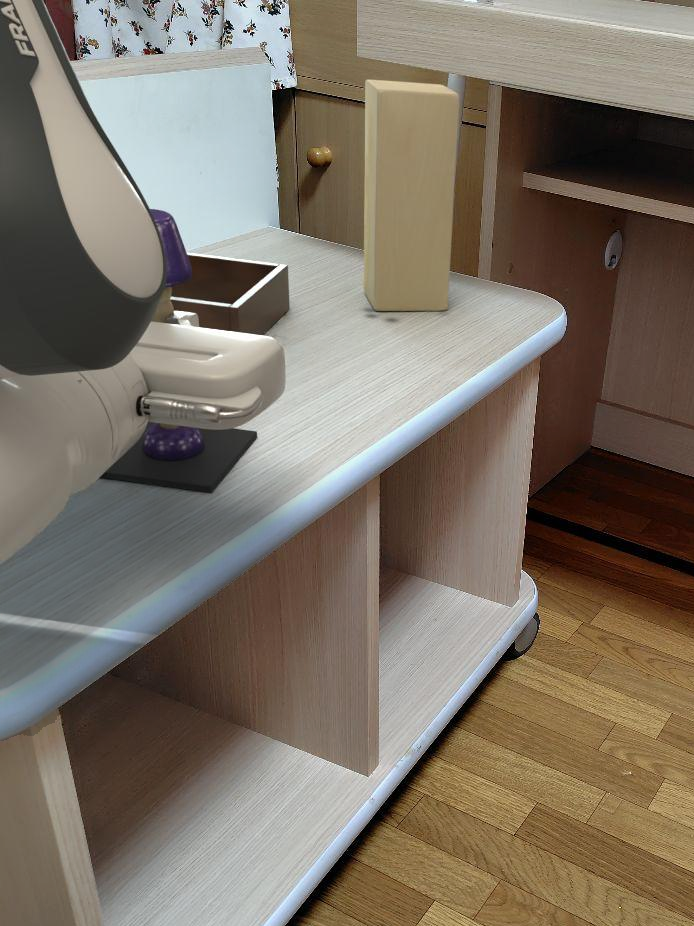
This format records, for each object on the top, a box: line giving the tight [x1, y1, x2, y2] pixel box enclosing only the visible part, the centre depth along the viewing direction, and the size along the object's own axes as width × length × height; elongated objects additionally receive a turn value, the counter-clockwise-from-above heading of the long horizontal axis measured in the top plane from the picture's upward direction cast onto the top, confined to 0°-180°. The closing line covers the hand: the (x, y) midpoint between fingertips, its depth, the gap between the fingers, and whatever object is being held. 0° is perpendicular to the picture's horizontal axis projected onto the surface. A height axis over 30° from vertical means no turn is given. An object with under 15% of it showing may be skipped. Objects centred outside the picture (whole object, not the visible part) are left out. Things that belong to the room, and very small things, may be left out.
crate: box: [170, 251, 291, 336], centre depth 93 cm, size 14×14×4 cm
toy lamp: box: [142, 208, 205, 460], centre depth 67 cm, size 5×5×17 cm
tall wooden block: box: [363, 79, 460, 312], centre depth 100 cm, size 8×7×21 cm
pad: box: [99, 422, 258, 493], centre depth 71 cm, size 9×9×1 cm
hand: (166, 320), depth 67 cm, fingers closed on toy lamp
